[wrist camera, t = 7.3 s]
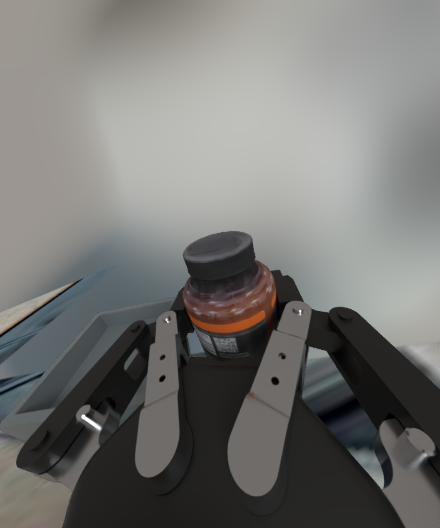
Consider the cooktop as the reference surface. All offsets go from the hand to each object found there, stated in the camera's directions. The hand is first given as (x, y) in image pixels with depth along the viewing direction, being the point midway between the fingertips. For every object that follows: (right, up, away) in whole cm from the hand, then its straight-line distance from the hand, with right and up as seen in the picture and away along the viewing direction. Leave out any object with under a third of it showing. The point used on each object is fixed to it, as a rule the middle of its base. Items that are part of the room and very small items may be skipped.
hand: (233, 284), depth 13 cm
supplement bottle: (+1, -7, +1) cm, 7 cm away
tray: (-13, -11, +8) cm, 19 cm away
